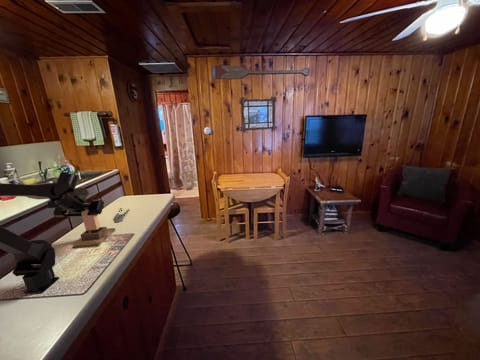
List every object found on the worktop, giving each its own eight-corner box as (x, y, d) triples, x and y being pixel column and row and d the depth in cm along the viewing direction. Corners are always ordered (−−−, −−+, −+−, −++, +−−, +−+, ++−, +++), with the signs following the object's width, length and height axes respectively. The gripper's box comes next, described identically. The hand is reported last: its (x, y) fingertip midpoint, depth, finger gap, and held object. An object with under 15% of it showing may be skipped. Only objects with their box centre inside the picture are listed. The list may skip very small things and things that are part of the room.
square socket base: (98, 246, 89) (96, 237, 88) (73, 248, 89) (70, 239, 88) (115, 230, 103) (113, 222, 102) (93, 231, 102) (91, 224, 101)
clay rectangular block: (97, 229, 93) (90, 204, 90) (86, 230, 93) (78, 205, 90) (100, 227, 96) (93, 202, 92) (89, 227, 95) (82, 203, 92)
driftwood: (122, 223, 112) (121, 219, 111) (108, 225, 110) (108, 221, 109) (131, 209, 131) (131, 206, 130) (120, 210, 129) (119, 207, 129)
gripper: (96, 182, 85) (115, 197, 98) (50, 185, 84) (76, 200, 97) (88, 207, 79) (110, 219, 93) (39, 210, 78) (68, 222, 92)
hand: (91, 214), depth 94 cm, fingers closed on clay rectangular block, 5 cm apart
